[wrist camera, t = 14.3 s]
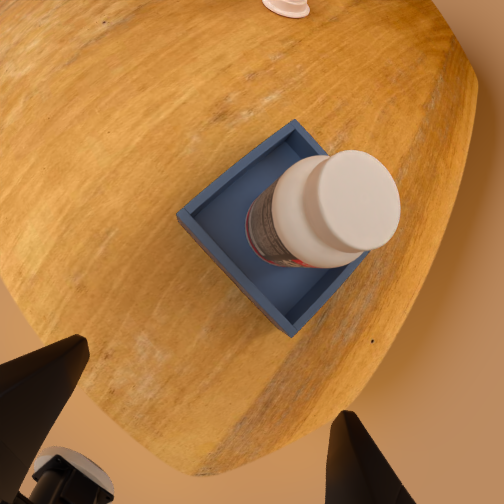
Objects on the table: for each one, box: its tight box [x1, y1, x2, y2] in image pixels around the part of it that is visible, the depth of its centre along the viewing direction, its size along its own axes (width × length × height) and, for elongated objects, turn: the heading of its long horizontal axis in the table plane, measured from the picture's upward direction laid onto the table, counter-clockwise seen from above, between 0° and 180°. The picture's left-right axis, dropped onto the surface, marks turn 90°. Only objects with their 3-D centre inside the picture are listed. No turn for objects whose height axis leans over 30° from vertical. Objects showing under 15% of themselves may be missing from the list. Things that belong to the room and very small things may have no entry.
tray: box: [176, 119, 371, 338], centre depth 19 cm, size 10×10×3 cm
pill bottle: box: [245, 150, 400, 268], centre depth 15 cm, size 5×5×10 cm
